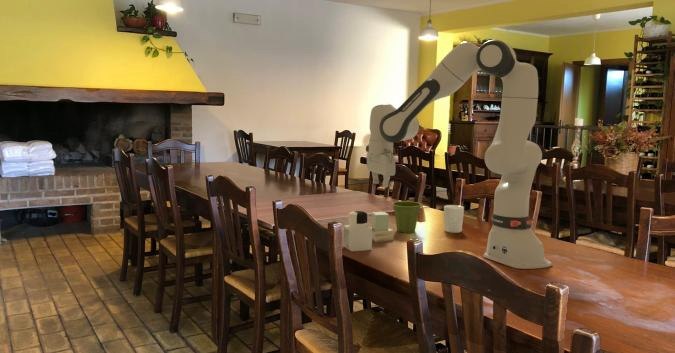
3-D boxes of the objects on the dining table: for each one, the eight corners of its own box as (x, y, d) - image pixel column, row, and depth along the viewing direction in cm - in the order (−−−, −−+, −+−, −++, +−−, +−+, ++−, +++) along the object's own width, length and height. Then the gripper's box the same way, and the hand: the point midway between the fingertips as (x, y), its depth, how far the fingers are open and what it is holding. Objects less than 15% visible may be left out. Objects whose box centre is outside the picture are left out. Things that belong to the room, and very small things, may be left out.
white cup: (463, 233, 212) (464, 209, 211) (443, 232, 214) (444, 207, 212) (462, 229, 220) (463, 205, 218) (443, 228, 221) (444, 204, 220)
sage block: (388, 230, 200) (388, 214, 199) (375, 230, 199) (375, 215, 198) (383, 227, 205) (384, 211, 204) (371, 227, 203) (371, 212, 203)
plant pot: (385, 229, 218) (386, 202, 216) (409, 227, 223) (410, 200, 222) (401, 235, 207) (402, 207, 206) (426, 233, 213) (427, 205, 211)
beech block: (393, 240, 201) (393, 230, 200) (375, 242, 197) (375, 232, 196) (381, 236, 208) (382, 226, 207) (364, 238, 204) (364, 227, 203)
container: (363, 244, 193) (363, 209, 191) (372, 250, 185) (372, 213, 184) (343, 246, 190) (343, 210, 188) (351, 252, 183) (352, 214, 181)
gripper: (400, 150, 189) (399, 188, 191) (379, 146, 208) (378, 181, 210) (383, 150, 187) (382, 189, 189) (364, 146, 207) (363, 182, 208)
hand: (380, 185), depth 200 cm, fingers open, 8 cm apart
